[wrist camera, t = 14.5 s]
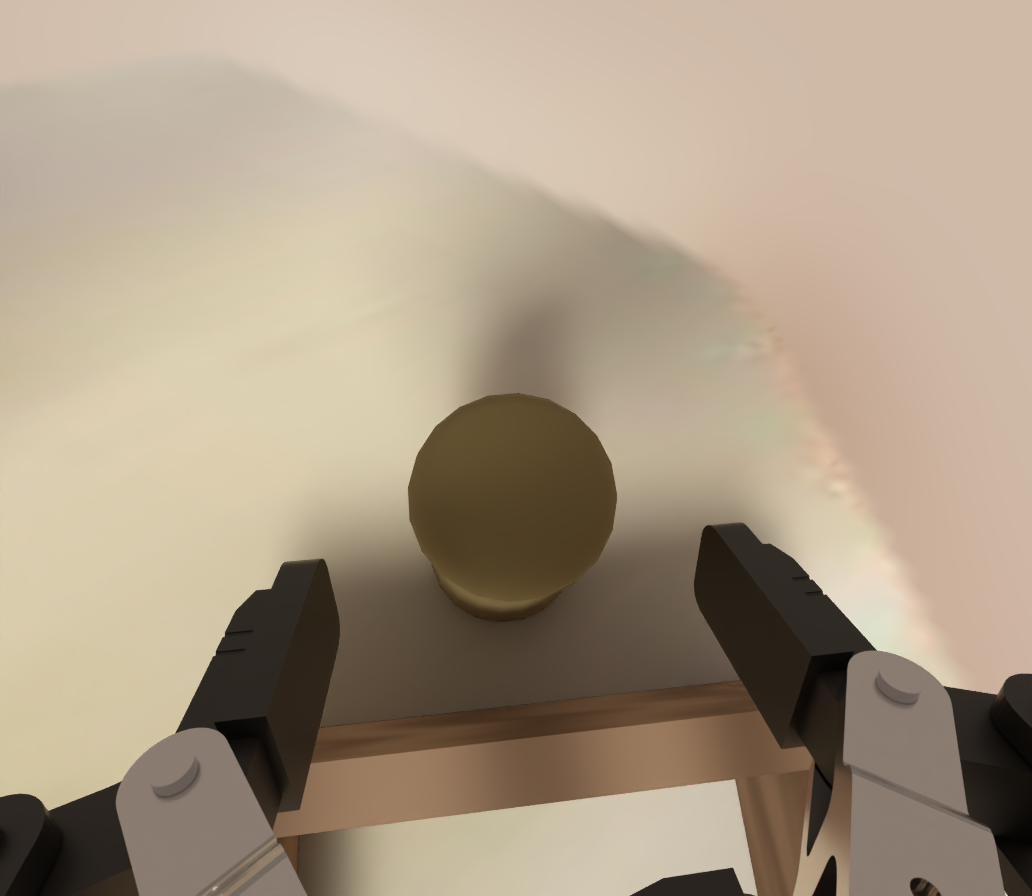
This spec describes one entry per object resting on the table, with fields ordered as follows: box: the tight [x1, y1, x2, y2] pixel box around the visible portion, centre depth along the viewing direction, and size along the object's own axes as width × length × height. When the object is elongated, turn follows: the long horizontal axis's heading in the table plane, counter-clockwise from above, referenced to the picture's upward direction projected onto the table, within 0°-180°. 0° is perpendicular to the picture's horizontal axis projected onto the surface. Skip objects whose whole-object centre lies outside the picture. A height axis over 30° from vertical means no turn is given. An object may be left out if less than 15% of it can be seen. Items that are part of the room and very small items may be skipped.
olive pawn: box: [408, 393, 617, 622], centre depth 17 cm, size 6×6×11 cm
